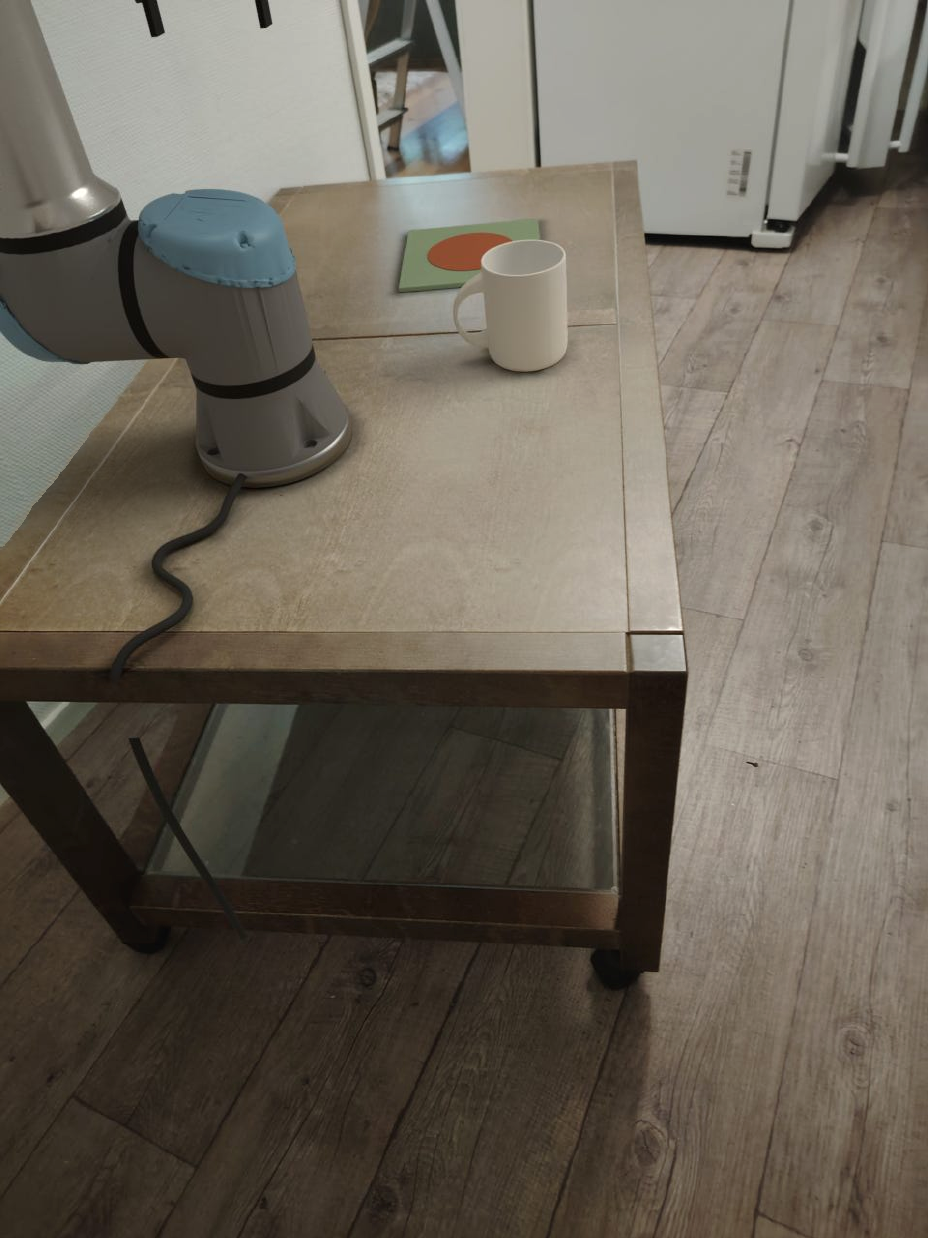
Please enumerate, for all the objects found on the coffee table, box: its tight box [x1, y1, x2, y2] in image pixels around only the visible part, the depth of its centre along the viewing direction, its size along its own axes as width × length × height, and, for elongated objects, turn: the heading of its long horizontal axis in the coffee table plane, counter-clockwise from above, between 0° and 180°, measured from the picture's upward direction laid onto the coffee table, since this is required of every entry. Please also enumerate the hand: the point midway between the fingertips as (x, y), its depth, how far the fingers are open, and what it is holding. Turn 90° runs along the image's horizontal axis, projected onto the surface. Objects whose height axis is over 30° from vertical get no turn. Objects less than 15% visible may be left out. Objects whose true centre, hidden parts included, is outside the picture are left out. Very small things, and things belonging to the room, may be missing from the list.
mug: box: [452, 239, 569, 373], centre depth 94 cm, size 9×12×11 cm
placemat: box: [398, 218, 541, 293], centre depth 117 cm, size 18×18×1 cm
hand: (212, 30), depth 107 cm, fingers open, 13 cm apart
